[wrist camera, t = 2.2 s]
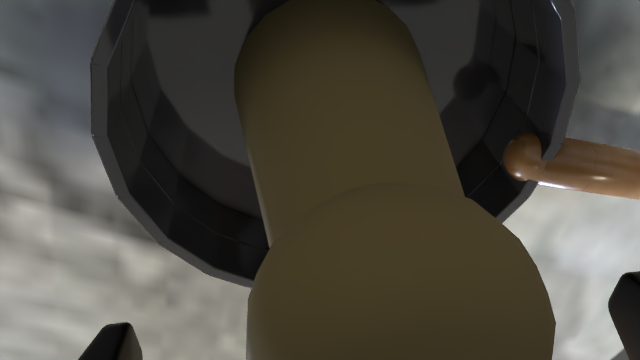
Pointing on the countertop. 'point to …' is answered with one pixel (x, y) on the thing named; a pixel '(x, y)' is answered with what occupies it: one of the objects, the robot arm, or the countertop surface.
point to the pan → (226, 132)
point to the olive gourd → (370, 203)
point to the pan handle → (576, 166)
